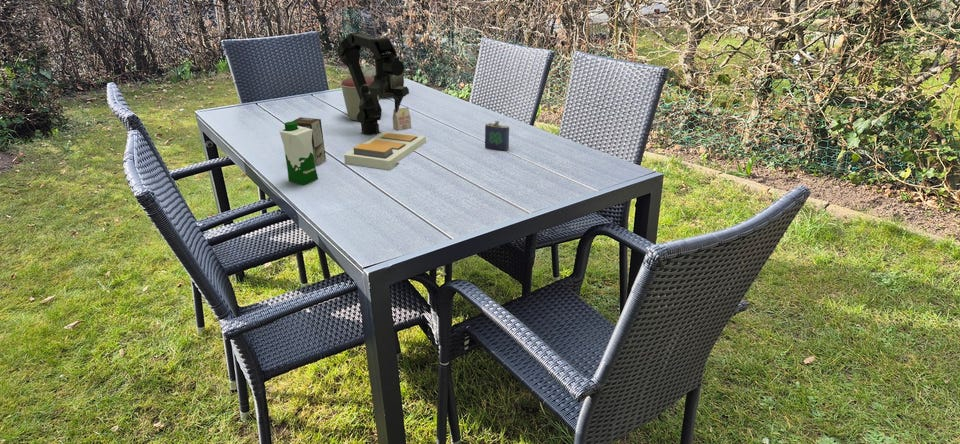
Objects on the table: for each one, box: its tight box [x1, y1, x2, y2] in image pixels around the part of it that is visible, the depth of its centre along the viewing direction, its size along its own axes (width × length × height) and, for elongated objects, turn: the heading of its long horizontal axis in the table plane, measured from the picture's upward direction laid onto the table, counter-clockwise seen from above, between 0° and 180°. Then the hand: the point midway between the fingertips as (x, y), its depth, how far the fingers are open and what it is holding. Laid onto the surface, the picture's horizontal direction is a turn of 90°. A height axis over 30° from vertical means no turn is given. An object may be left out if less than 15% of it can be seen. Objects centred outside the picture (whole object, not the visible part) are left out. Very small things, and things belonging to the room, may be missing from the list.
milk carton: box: [279, 121, 319, 186], centre depth 195 cm, size 9×9×20 cm
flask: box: [484, 120, 510, 152], centre depth 226 cm, size 10×3×12 cm, turn 68°
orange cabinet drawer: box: [381, 132, 418, 142], centre depth 231 cm, size 13×6×3 cm, turn 69°
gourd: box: [361, 66, 405, 98], centre depth 303 cm, size 25×25×17 cm
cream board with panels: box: [343, 131, 427, 171], centre depth 224 cm, size 23×30×3 cm
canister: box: [339, 76, 380, 122], centre depth 262 cm, size 18×18×21 cm
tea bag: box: [392, 106, 412, 132], centre depth 247 cm, size 4×7×10 cm, turn 124°
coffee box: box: [291, 116, 327, 167], centre depth 212 cm, size 9×6×16 cm
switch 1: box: [352, 142, 393, 159], centre depth 213 cm, size 13×6×3 cm, turn 69°
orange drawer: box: [369, 140, 405, 150], centre depth 223 cm, size 13×6×3 cm, turn 69°
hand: (386, 111), depth 230 cm, fingers open, 9 cm apart
